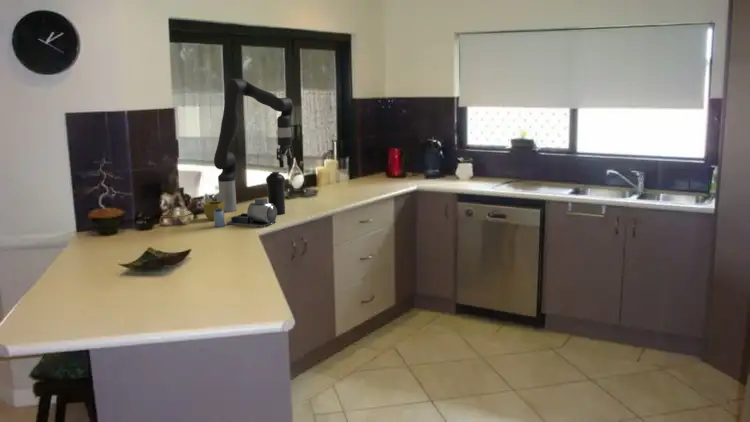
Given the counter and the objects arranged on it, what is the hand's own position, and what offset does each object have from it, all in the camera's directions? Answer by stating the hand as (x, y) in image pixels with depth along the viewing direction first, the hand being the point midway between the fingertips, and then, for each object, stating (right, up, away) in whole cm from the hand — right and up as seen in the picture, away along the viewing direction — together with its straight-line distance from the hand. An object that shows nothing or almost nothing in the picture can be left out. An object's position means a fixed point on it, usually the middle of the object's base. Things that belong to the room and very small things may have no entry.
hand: (285, 166), depth 374 cm
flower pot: (-38, -29, +2) cm, 48 cm away
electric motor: (-15, -30, -11) cm, 36 cm away
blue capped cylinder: (-32, -32, -16) cm, 47 cm away
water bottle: (-6, -26, +13) cm, 29 cm away
